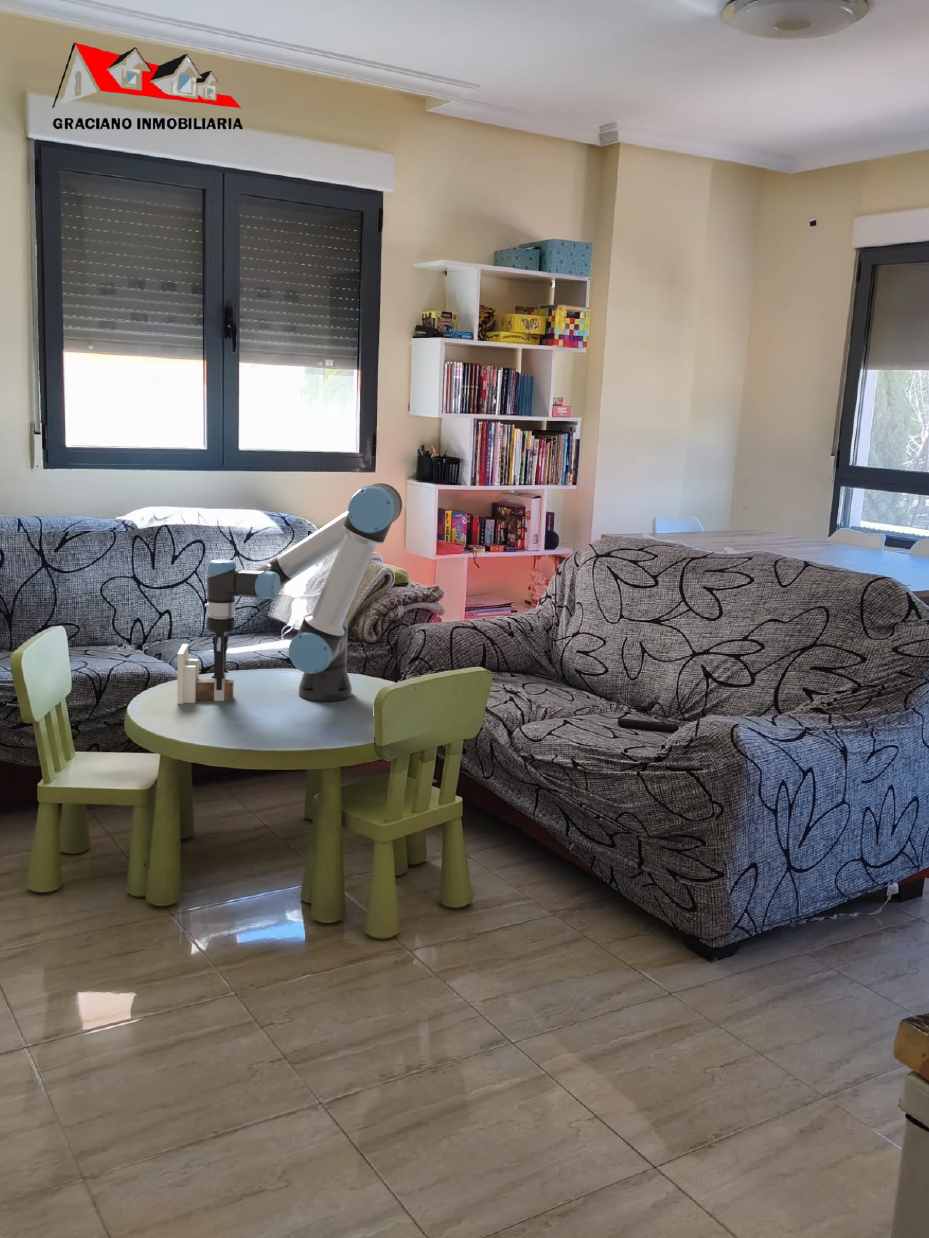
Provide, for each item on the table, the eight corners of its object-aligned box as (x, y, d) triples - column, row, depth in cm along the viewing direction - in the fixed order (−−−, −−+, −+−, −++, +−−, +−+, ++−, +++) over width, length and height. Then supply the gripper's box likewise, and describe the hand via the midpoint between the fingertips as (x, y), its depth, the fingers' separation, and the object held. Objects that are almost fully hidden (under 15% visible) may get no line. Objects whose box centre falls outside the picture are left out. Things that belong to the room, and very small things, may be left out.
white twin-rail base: (198, 692, 309) (199, 644, 306) (194, 704, 297) (194, 654, 294) (182, 692, 308) (182, 643, 305) (177, 703, 296) (177, 653, 294)
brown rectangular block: (187, 699, 301) (187, 681, 300) (189, 696, 304) (189, 678, 303) (232, 700, 302) (232, 682, 301) (233, 696, 306) (233, 679, 305)
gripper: (209, 609, 307) (208, 689, 311) (203, 622, 290) (203, 706, 295) (236, 610, 308) (235, 690, 312) (232, 622, 291) (231, 707, 296)
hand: (219, 698), depth 304 cm, fingers closed on brown rectangular block, 4 cm apart
